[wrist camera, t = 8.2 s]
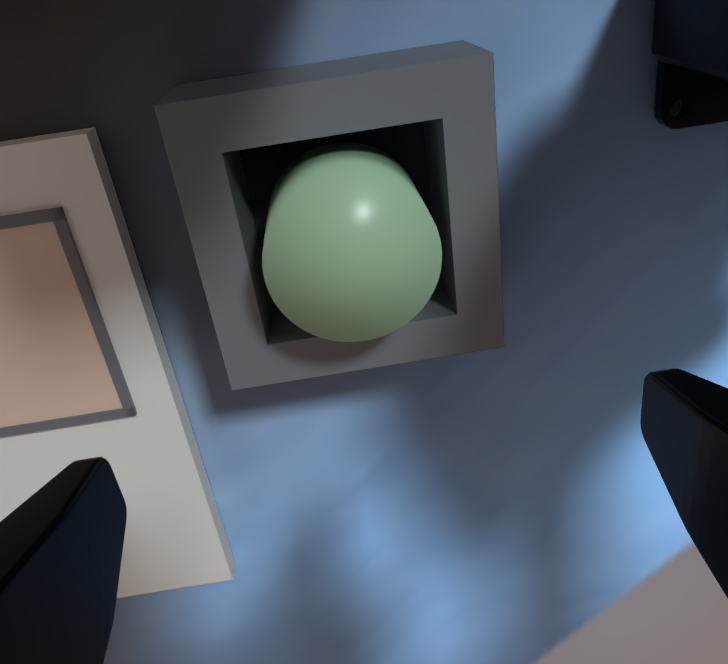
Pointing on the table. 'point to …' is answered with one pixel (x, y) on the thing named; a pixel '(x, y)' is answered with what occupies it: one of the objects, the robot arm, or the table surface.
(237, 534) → the table surface
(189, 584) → the picture board
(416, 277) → the button
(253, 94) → the button housing
